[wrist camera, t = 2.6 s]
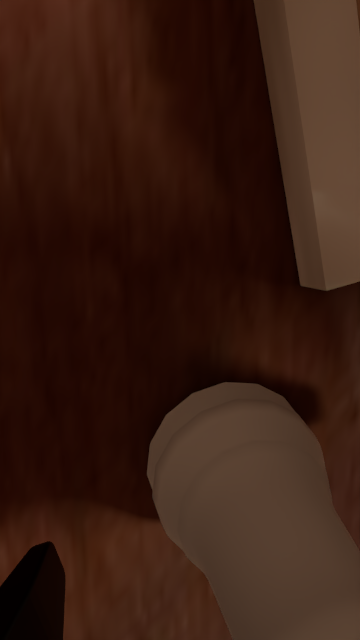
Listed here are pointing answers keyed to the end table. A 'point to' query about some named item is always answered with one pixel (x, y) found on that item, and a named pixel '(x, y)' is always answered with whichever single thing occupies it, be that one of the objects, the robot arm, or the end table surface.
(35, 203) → the end table surface
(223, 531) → the rook chess piece
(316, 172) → the ring board
